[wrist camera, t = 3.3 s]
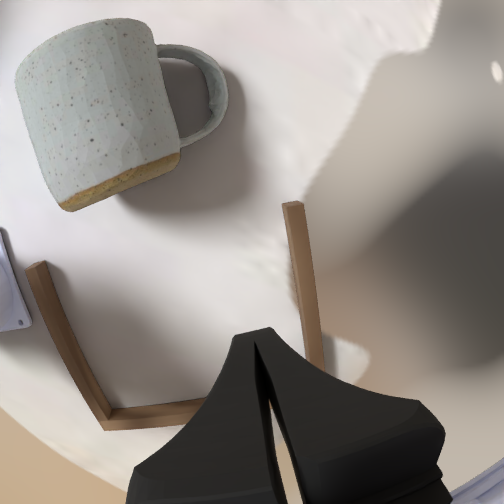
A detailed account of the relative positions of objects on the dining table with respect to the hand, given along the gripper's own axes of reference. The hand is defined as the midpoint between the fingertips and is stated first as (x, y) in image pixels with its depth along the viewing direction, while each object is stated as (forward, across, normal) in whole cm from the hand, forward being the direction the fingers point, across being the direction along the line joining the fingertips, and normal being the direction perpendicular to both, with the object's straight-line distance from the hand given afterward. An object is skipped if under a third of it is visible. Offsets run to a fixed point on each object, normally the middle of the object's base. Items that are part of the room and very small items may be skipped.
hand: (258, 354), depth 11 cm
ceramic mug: (+11, +4, -11) cm, 16 cm away
